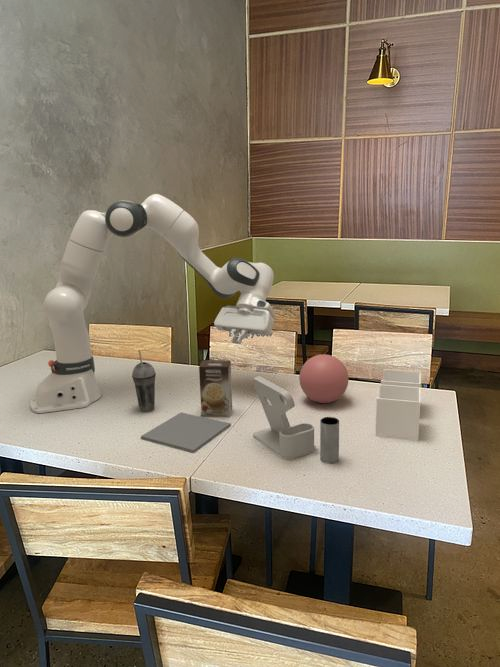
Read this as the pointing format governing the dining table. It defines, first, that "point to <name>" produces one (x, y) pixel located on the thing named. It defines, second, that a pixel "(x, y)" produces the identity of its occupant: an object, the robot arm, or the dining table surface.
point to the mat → (186, 432)
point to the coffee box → (215, 388)
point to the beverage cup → (144, 385)
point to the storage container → (399, 404)
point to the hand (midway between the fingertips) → (235, 342)
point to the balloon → (323, 378)
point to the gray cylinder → (329, 439)
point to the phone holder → (282, 423)
